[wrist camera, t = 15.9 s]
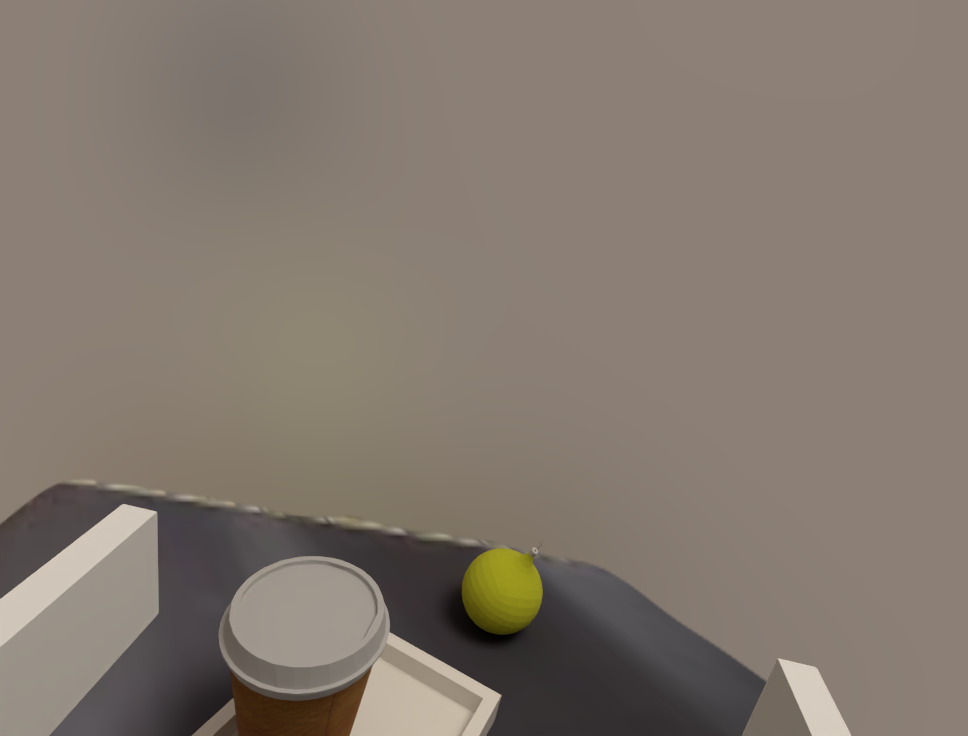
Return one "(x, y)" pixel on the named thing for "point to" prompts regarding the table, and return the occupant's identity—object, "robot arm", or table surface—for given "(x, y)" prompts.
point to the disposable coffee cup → (302, 646)
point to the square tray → (405, 699)
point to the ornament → (502, 590)
